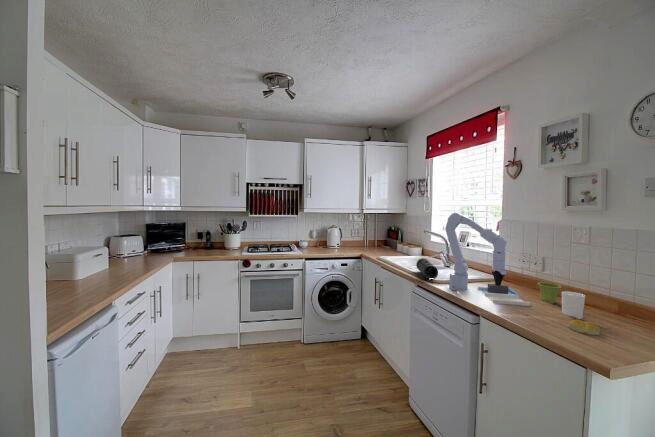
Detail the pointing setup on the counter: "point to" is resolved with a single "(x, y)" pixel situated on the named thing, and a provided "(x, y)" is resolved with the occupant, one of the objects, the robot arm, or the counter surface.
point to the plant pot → (549, 292)
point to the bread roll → (584, 327)
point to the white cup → (573, 304)
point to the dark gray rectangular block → (497, 289)
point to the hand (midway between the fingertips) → (497, 285)
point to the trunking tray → (504, 297)
